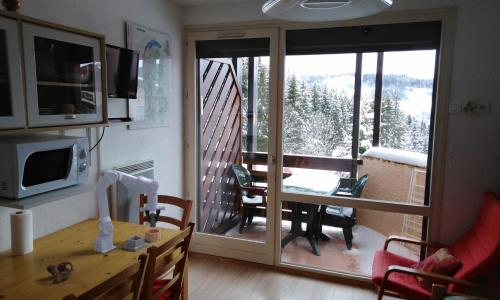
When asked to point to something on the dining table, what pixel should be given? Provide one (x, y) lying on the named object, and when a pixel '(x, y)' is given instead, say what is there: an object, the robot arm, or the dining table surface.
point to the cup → (153, 235)
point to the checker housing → (135, 243)
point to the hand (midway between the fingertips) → (152, 222)
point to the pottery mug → (61, 270)
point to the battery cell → (152, 220)
